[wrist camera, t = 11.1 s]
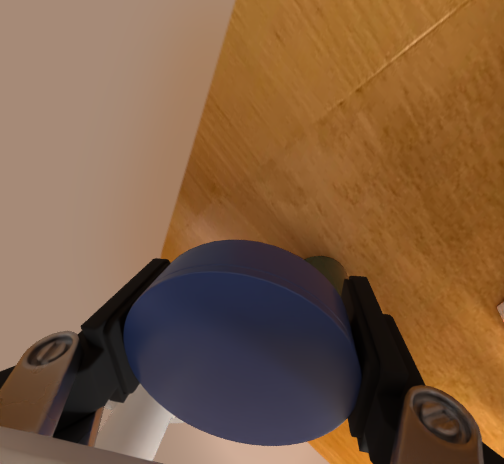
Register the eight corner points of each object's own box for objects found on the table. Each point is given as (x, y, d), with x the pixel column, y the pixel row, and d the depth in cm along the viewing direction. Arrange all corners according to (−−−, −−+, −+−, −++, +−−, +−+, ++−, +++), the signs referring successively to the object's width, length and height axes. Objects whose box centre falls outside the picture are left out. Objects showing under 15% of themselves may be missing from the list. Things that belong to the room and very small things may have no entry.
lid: (370, 248, 7) (393, 287, 5) (337, 407, 9) (344, 466, 8) (138, 232, 8) (96, 259, 6) (169, 377, 11) (145, 423, 9)
